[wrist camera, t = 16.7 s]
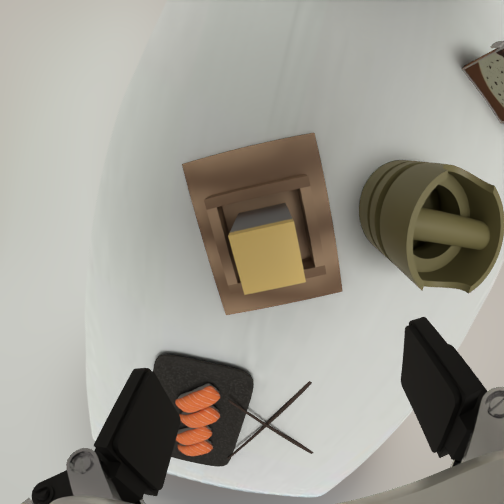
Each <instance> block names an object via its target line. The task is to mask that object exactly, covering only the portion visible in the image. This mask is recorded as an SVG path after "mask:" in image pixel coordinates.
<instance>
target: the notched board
mask: <svg viewBox="0 0 504 504" xmlns="http://www.w3.org/2000/svg"><path fill="white" fill-rule="evenodd" d="M182 166H183V170H184V174H185V178H186V182H187V185H188V189H189V193H190V196H191V200H192V204H193V207H194V211H195V214H196V218H197V221H198V225H199V228H200V232H201V235H202V239H203V242H204V246H205V249H206V252H207V256H208V259H209V262H210V266H211V269H212V272H213V275H214V279H215V282H216V285H217V288H218V291H219V295H220V298H221V301H222V304H223V307H224V310H225V313H226V315H230V314H235V313H241V312H246V311H252V310H257V309H262V308H268V307H273V306H278V305H283V304H287V303H292V302H297V301H302V300H306V299H311V298H316V297H320V296H325V295H329V294H333V293H338V292H342V284H341V276H340V268H339V261H338V254H337V247H336V241H335V235H334V228H333V222H332V217H331V211H330V205H329V200H328V195H327V189H326V184H325V179H324V174H323V170H322V165H321V160H320V156H319V151H318V147H317V142H316V138H315V134H314V133H310V134H304V135H299V136H294V137H289V138H284V139H279V140H274V141H270V142H265V143H261V144H256V145H252V146H248V147H244V148H239V149H235V150H231V151H228V152H224V153H220V154H216V155H212V156H209V157H205V158H202V159H198V160H195V161H191V162H188V163H185V164H182ZM282 203H286V205H287V207H288V210H289V212H290V214H291V216H292V218H293V221H294V224H295V229H296V234H297V239H298V244H299V249H300V254H301V259H302V264H303V269H304V275H305V280H306V282H304V283H300V284H295V285H290V286H286V287H281V288H276V289H271V290H266V291H262V292H257V293H252V294H246V295H244V291H243V288H242V284H241V281H240V277H239V274H238V270H237V266H236V263H235V259H234V255H233V252H232V248H231V245H230V241H229V237H228V235H229V233H230V231H231V229H232V226H233V224H234V222H235V220H236V218H237V215H238V213H242V212H246V211H251V210H255V209H259V208H264V207H268V206H273V205H277V204H282Z"/></svg>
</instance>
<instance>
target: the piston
mask: <svg viewBox="0 0 504 504" xmlns="http://www.w3.org/2000/svg"><path fill="white" fill-rule="evenodd" d="M359 217H360V223H361V226H362V229H363V231H364V234H365V235H366V237H367V239H368V240H369V241H370V242H371V244H372V245H373V246H375V247H376V248H377V249H378V250H379V251H380V252H381V253H382V254H384V255H385V256H386V257H387V258H388V259H389V260H390V261H391V262H392V263H394V264H395V265H396V266H397V267H398V268H399V269H400V270H401V271H402V272H403V273H404V274H405V275H406V276H407V277H408V278H409V279H410V280H411V281H412V282H413V283H415V284H416V285H417V286H418V287H419V288H420V289H421V290H423V286H426V287H444V288H456V289H460V290H463V291H466V292H467V293H470V292H471V291H473V290H474V289H475V288H477V287H478V286H479V285H480V284H481V283H482V282H483V281H484V279H485V278H486V277H487V276H488V274H489V273H490V271H491V270H492V268H493V266H494V264H495V262H496V260H497V258H498V255H499V252H500V249H501V246H502V242H503V236H504V211H503V206H502V202H501V199H500V196H499V194H498V191H497V190H496V188H495V186H494V185H491V184H488V183H486V182H484V181H483V180H481V179H479V178H478V177H476V176H474V175H473V174H471V173H469V172H467V171H465V170H463V169H461V168H459V167H456V166H453V165H448V164H439V163H428V162H420V161H408V160H396V161H392V162H389V163H386V164H384V165H382V166H381V167H379V168H378V169H377V170H376V171H375V172H374V173H373V174H372V175H371V176H370V177H369V179H368V180H367V182H366V184H365V186H364V188H363V190H362V193H361V197H360V203H359Z"/></svg>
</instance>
